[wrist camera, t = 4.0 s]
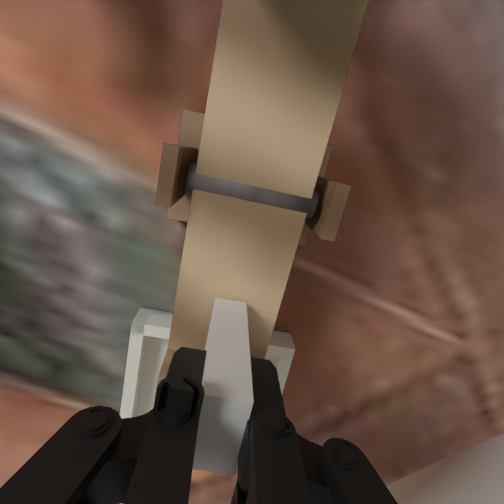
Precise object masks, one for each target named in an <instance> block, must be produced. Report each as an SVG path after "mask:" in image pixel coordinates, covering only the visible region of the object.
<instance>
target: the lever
mask: <svg viewBox="0 0 504 504" xmlns="http://www.w3.org/2000/svg"><path fill="white" fill-rule="evenodd" d="M368 2H369V0H223V4H222V11H221V17H220V23H219V29H218V36H217V42H216V48H215V54H214V61H213V67H212V73H211V79H210V86H209V92H208V98H207V104H206V111H205V117H204V123H203V129H202V136H201V142H200V148H199V154H198V161H197V165H195V164H190V167H189V171H188V175H187V181H186V192H190V193H192V198H191V204H190V211H189V217H188V223H187V229H186V236H185V242H184V248H183V254H182V261H181V267H180V273H179V279H178V286H177V292H176V298H175V304H174V311H173V317H172V323H171V330H170V336H169V342H168V348H167V352H166V355H165V358H164V361H163V364H162V367H161V370H160V373H159V376H158V381H157V386H158V384H159V383H160V381H161V380H163V379H164V378H166V376H167V372H168V369H169V366H170V363H171V360H172V357H173V353H175V352H176V351H177V350H178V349H179V348H180V347H187V348H193V349H199V350H205V346H206V341H207V336H208V331H209V326H210V321H211V316H212V312H213V307H214V302H215V297H216V298H222V299H227V300H233V301H238V302H244V303H246V306H247V319H248V332H249V346H250V357H254V358H260V359H265V356H266V353H267V349H268V346H269V342H270V339H271V335H272V332H273V329H274V325H275V322H276V318H277V315H278V311H279V308H280V305H281V301H282V298H283V294H284V291H285V287H286V284H287V280H288V277H289V274H290V270H291V267H292V263H293V260H294V256H295V253H296V250H297V246H298V243H299V239H300V236H301V232H302V229H303V226H304V222H305V219H306V217H307V218H312V217H313V215H314V213H315V210H316V207H317V203H318V192H316V191H314V188H315V184H316V181H317V177H318V174H319V171H320V167H321V164H322V160H323V157H324V153H325V150H326V146H327V143H328V140H329V136H330V133H331V129H332V126H333V122H334V119H335V116H336V112H337V109H338V105H339V102H340V98H341V95H342V92H343V88H344V85H345V81H346V78H347V74H348V71H349V67H350V64H351V61H352V57H353V54H354V50H355V47H356V43H357V40H358V37H359V33H360V30H361V26H362V23H363V19H364V16H365V12H366V9H367V6H368ZM156 389H157V388H156Z"/></svg>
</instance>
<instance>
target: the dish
mask: <svg viewBox="0 0 504 504" xmlns="http://www.w3.org/2000/svg"><path fill="white" fill-rule="evenodd" d="M172 317H173V313H170V312H164V311H159V310H153V309H147V308H140V309H139V311H138V313H137V314H136V316H135V318H134V319H133V321H132V325H131V333H130V340H129V348H128V356H127V363H126V371H125V379H124V387H123V394H122V402H121V410H120V417H121V419H124V418H132V417H137V416H141V415H143V414H145V413H147V412H149V411H150V410H152V409H153V407H154V401H155V395H156V388H157V381H158V376H159V373H160V370H161V367H162V364H163V361H164V358H165V355H166V352H167V348H168V342H169V336H170V330H171V323H172ZM294 353H295V346H294V343H293V340H292V336H291V333H287V332H281V331H275V330H273V332H272V335H271V339H270V342H269V346H268V349H267V353H266V356H265V359H266V360H270V361H271V362H272V363H273V365H274V366H275V367H276V369H277V373H278V378H279V379H278V380H279V383H280V389H281V394H282V393H283V390H284V386H285V383H286V379H287V376H288V373H289V369H290V366H291V363H292V359H293V356H294Z"/></svg>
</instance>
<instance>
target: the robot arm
mask: <svg viewBox="0 0 504 504" xmlns="http://www.w3.org/2000/svg"><path fill="white" fill-rule="evenodd" d="M278 379H279V378H278V373H277V369H276V367H275V366H274V365H273V363H272V362H271V361H270V360H266V359H260V358H254V357H250V346H249V332H248V319H247V306H246V303H244V302H238V301H233V300H227V299H222V298H216V297H215V302H214V307H213V312H212V316H211V321H210V326H209V331H208V336H207V341H206V346H205V350H199V349H193V348H187V347H180V348H179V349H178V350H177V351H176V352H175V353H173V357H172V360H171V363H170V366H169V369H168V372H167V376H166V378H164V379H163V380H161V381H160V383H159V384H158V386H157V389H156V395H155V401H154V407H153V409H152V410H150V411H149V412H147V413H145V414H143V415H141V416H137V417H132V418H124V419H121V417H120V415H119V414H118V412H117V411H115V410H113V409H112V408H110V407H104V406H95V407H89V408H86V409H84V410H81V411H79V412H78V413H76V414H75V415H74V416H72V417H71V418H70V419H69V420H68V421H67V422H66V423H65V424H64V425H63V426H62V427H61V428H60V429H59V430H58V431H57V432H56V433H55V434H54V435H53V436H52V437H51V438H50V439H49V440H48V441H47V442H46V443H45V444H44V445H43V446H42V447H41V448H40V449H39V450H38V451H37V452H36V453H35V454H34V455H33V456H32V457H31V458H30V459H29V460H28V461H27V462H26V463H25V464H24V465H23V466H22V467H21V468H20V469H19V470H18V471H17V472H16V473H15V474H14V475H13V476H12V477H11V478H10V479H9V480H8V481H7V482H6V483H5V484H4V485H3V486H2V487H1V488H0V504H119V503H123V502H124V503H123V504H188V499H189V492H190V484H191V477H192V469H195V470H203V471H210V472H218V473H226V474H235V471H236V467H237V463H238V478H237V482H236V486H235V489H234V493H233V497H232V501H231V504H398V503H397V502H396V501H395V499H394V498H393V496H392V495H391V493H390V492H389V490H388V489H387V487H386V486H385V484H384V483H383V481H382V480H381V478H380V477H379V475H378V474H377V472H376V471H375V469H374V468H373V466H372V465H371V463H370V462H369V460H368V459H367V457H366V456H365V454H364V453H363V452H362V451H361V450H360V449H359V448H358V447H357V446H355V445H354V444H353V443H351V442H349V441H347V440H344V439H341V438H331V439H328V440H327V441H326V442H325V443H324V444H323V447H322V446H320V445H318V444H315V443H313V442H310V441H308V440H306V439H304V438H302V437H301V436H299V435H298V434H297V433H296V429H295V427H294V425H293V423H292V422H291V421H290V420H289V419H288V418H287V417H286V414H285V409H284V404H283V399H282V394H281V389H280V383H279V380H278Z"/></svg>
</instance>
